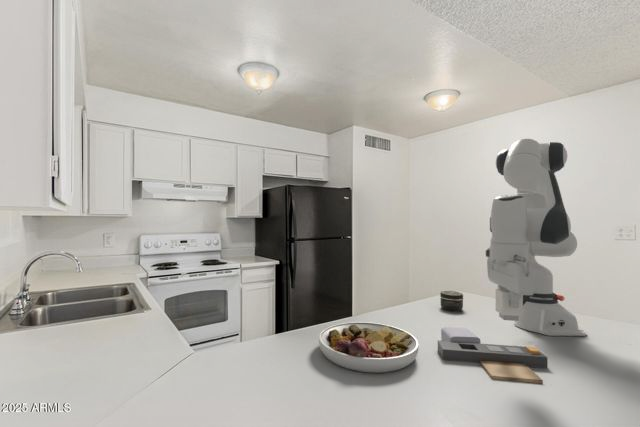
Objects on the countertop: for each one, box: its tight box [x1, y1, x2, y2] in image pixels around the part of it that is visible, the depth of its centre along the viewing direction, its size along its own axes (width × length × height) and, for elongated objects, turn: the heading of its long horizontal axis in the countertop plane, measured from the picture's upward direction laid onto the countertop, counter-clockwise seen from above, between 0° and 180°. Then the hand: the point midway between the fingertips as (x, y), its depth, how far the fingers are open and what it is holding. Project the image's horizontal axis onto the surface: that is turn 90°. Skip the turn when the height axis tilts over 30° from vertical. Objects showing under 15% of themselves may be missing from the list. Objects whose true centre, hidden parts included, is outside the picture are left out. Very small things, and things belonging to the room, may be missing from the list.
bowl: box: [318, 321, 420, 373], centre depth 95 cm, size 30×30×8 cm
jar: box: [439, 290, 464, 312], centre depth 147 cm, size 10×10×8 cm
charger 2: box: [495, 288, 523, 322], centre depth 84 cm, size 5×4×8 cm
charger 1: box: [440, 326, 481, 344], centre depth 105 cm, size 5×9×15 cm
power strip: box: [437, 340, 548, 369], centre depth 93 cm, size 28×7×4 cm, turn 81°
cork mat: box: [479, 361, 544, 384], centre depth 84 cm, size 12×9×1 cm
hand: (508, 304), depth 84 cm, fingers closed on charger 2, 4 cm apart
